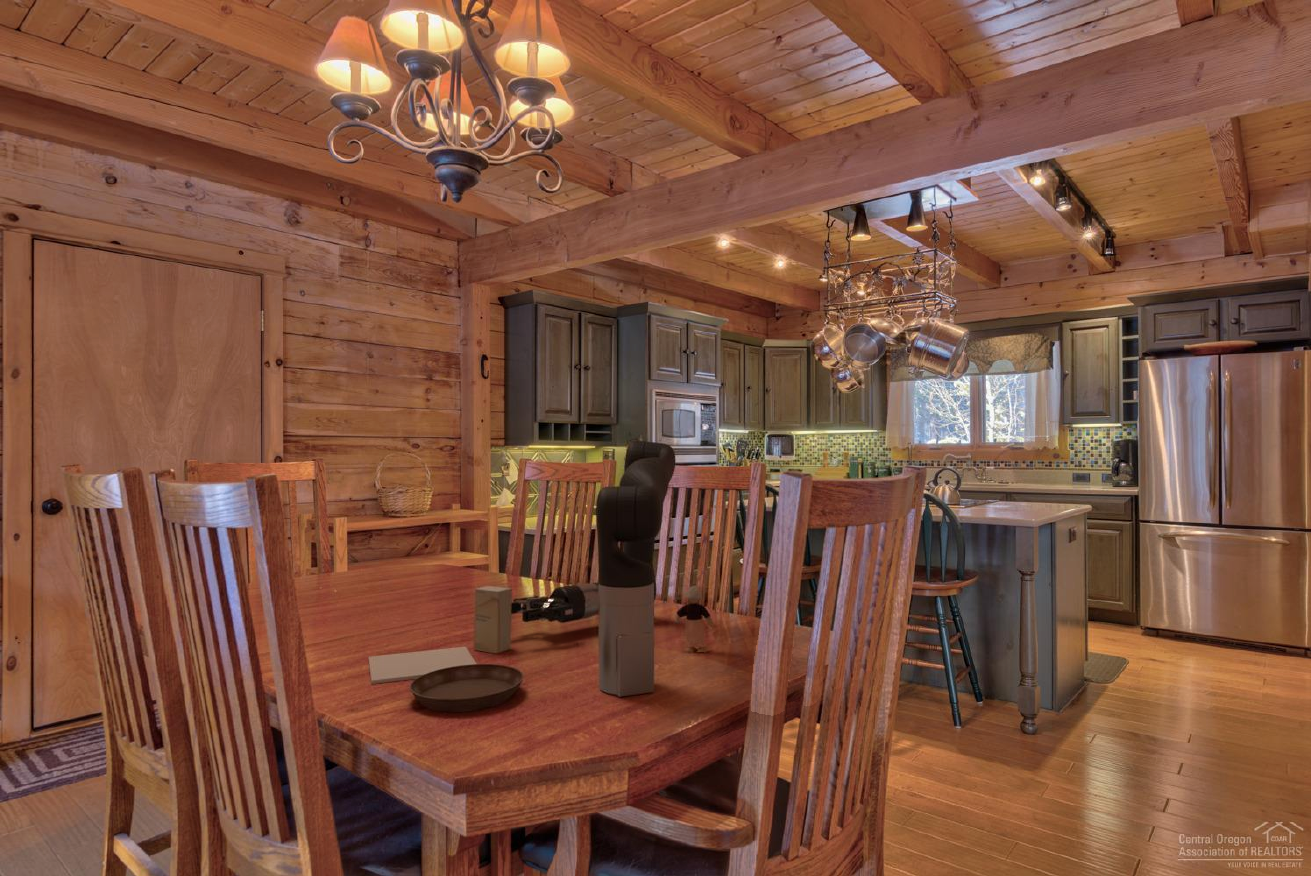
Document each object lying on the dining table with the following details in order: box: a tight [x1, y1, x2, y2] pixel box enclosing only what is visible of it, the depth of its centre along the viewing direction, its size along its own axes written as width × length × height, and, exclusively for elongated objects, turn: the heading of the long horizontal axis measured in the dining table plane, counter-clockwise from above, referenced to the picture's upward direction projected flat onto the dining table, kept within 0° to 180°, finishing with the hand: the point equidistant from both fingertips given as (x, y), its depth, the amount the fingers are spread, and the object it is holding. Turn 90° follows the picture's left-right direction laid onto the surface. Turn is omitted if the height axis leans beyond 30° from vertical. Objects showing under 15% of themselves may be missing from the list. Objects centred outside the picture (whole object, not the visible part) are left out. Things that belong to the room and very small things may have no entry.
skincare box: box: [473, 585, 513, 654], centre depth 149 cm, size 6×4×12 cm
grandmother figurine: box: [674, 585, 714, 653], centre depth 147 cm, size 8×4×13 cm, turn 84°
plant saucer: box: [409, 663, 524, 713], centre depth 120 cm, size 18×18×3 cm
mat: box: [368, 646, 477, 685], centre depth 138 cm, size 16×18×1 cm
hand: (511, 613), depth 151 cm, fingers open, 8 cm apart
